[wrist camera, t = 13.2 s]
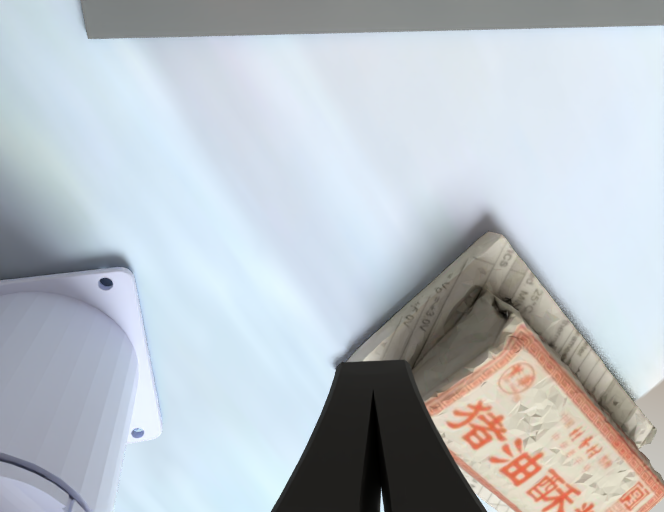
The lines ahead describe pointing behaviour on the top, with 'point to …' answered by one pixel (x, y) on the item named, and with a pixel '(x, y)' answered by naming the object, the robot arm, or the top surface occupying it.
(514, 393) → the packaged product
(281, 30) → the slate mat
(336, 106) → the top surface
